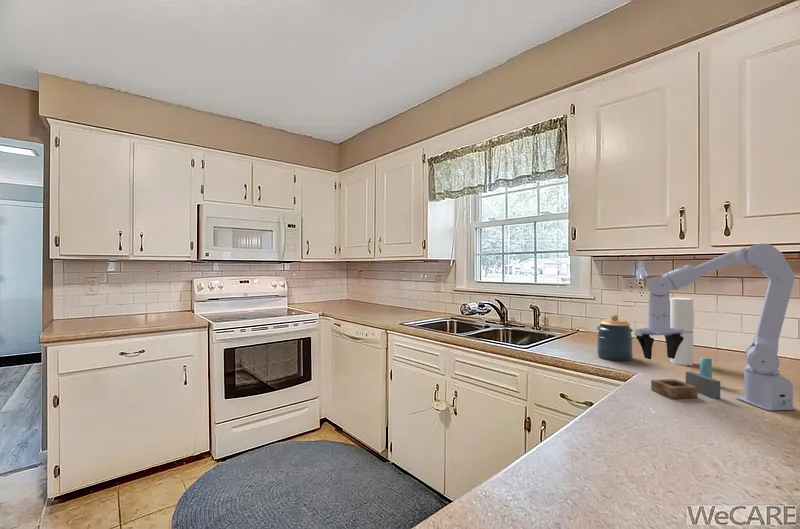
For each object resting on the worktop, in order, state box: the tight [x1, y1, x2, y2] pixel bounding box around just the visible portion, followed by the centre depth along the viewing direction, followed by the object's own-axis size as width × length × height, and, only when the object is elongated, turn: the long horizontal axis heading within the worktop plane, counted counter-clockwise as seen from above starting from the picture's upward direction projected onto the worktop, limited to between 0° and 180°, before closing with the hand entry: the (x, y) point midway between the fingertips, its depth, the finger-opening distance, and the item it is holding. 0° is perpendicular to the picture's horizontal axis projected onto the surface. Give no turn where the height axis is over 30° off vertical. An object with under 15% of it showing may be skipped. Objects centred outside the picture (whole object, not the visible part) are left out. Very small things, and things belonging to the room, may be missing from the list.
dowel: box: [699, 356, 713, 379], centre depth 125 cm, size 3×3×8 cm
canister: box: [596, 314, 634, 362], centre depth 160 cm, size 13×13×18 cm
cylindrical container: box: [669, 297, 694, 366], centre depth 150 cm, size 7×7×25 cm
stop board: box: [685, 371, 721, 399], centre depth 116 cm, size 10×2×5 cm, turn 4°
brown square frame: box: [650, 378, 699, 399], centre depth 116 cm, size 8×8×3 cm
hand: (659, 358), depth 122 cm, fingers open, 7 cm apart
